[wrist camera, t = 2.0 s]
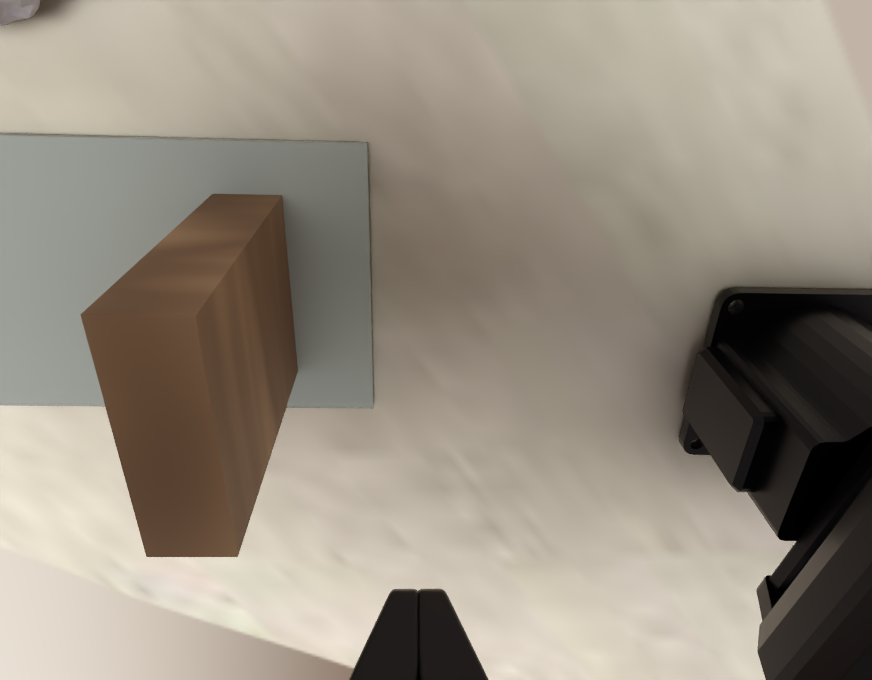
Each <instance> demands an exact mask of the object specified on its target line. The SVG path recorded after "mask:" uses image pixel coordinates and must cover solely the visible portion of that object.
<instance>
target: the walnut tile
mask: <svg viewBox="0 0 872 680" xmlns="http://www.w3.org/2000/svg"><path fill="white" fill-rule="evenodd" d="M80 315H81V319H82V323H83V326H84V330H85V334H86V337H87V341H88V345H89V348H90V352H91V355H92V359H93V363H94V366H95V370H96V374H97V377H98V381H99V385H100V388H101V392H102V396H103V399H104V403H105V407H106V410H107V414H108V418H109V421H110V425H111V428H112V432H113V436H114V439H115V443H116V447H117V450H118V454H119V458H120V461H121V465H122V469H123V472H124V476H125V480H126V483H127V487H128V491H129V494H130V498H131V502H132V505H133V509H134V512H135V516H136V520H137V523H138V527H139V531H140V534H141V538H142V542H143V545H144V549H145V553H146V556H147V557H238V554H239V551H240V548H241V545H242V542H243V538H244V535H245V532H246V529H247V526H248V523H249V520H250V517H251V514H252V511H253V508H254V505H255V502H256V499H257V495H258V492H259V489H260V486H261V483H262V480H263V477H264V474H265V471H266V468H267V465H268V462H269V459H270V456H271V453H272V449H273V446H274V443H275V440H276V437H277V434H278V431H279V428H280V425H281V422H282V419H283V416H284V413H285V410H286V406H287V403H288V400H289V397H290V394H291V391H292V388H293V385H294V382H295V379H296V376H297V373H298V365H297V354H296V343H295V332H294V321H293V310H292V299H291V288H290V277H289V266H288V255H287V244H286V233H285V222H284V211H283V200H282V195H255V194H212V195H211V196H209V197H208V198H207V199H206V200H205V201H204V202H203V203H202V204H201V205H200V206H199V207H197V208H196V209H195V210H194V211H193V212H192V213H191V214H190V215H189V216H188V217H187V218H185V219H184V220H183V221H182V222H181V223H180V224H179V225H178V226H177V227H176V228H174V229H173V230H172V231H171V232H170V233H169V234H168V235H167V236H166V237H165V238H164V239H162V240H161V241H160V242H159V243H158V244H157V245H156V246H155V247H154V248H153V249H152V250H150V251H149V252H148V253H147V254H146V255H145V256H144V257H143V258H142V259H141V260H139V261H138V262H137V263H136V264H135V265H134V266H133V267H132V268H131V269H130V270H129V271H127V272H126V273H125V274H124V275H123V276H122V277H121V278H120V279H119V280H118V281H116V282H115V283H114V284H113V285H112V286H111V287H110V288H109V289H108V290H107V291H106V292H104V293H103V294H102V295H101V296H100V297H99V298H98V299H97V300H96V301H95V302H94V303H92V304H91V305H90V306H89V307H88V308H87V309H86V310H85V311H84V312H83V313H81V314H80Z"/></svg>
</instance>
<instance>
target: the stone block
mask: <svg viewBox="0 0 872 680" xmlns="http://www.w3.org/2000/svg"><path fill="white" fill-rule="evenodd" d="M40 1H41V0H0V25H8V24H10V23H12V22H13V21H15V20H22V19H29V18H31V17H32V16H33V15H34V14H35V12H36V11H37V9H38V8H39V6H40Z"/></svg>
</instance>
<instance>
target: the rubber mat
mask: <svg viewBox="0 0 872 680" xmlns="http://www.w3.org/2000/svg"><path fill="white" fill-rule="evenodd" d="M212 194H255V195H282V200H283V211H284V222H285V233H286V244H287V255H288V266H289V277H290V288H291V299H292V310H293V321H294V332H295V343H296V354H297V365H298V373H297V376H296V379H295V382H294V385H293V388H292V391H291V394H290V397H289V400H288V403H287V406H286V407H287V408H373V404H374V398H373V356H372V313H371V271H370V228H369V186H368V143H367V142H343V141H301V140H260V139H219V138H177V137H136V136H94V135H53V134H12V133H0V405H28V406H105V403H104V399H103V396H102V392H101V388H100V385H99V381H98V377H97V374H96V370H95V366H94V363H93V359H92V355H91V352H90V348H89V345H88V341H87V337H86V334H85V330H84V326H83V323H82V319H81V315H80V314H81V313H83V312H84V311H85V310H86V309H87V308H88V307H89V306H90V305H91V304H92V303H94V302H95V301H96V300H97V299H98V298H99V297H100V296H101V295H102V294H103V293H104V292H106V291H107V290H108V289H109V288H110V287H111V286H112V285H113V284H114V283H115V282H116V281H118V280H119V279H120V278H121V277H122V276H123V275H124V274H125V273H126V272H127V271H129V270H130V269H131V268H132V267H133V266H134V265H135V264H136V263H137V262H138V261H139V260H141V259H142V258H143V257H144V256H145V255H146V254H147V253H148V252H149V251H150V250H152V249H153V248H154V247H155V246H156V245H157V244H158V243H159V242H160V241H161V240H162V239H164V238H165V237H166V236H167V235H168V234H169V233H170V232H171V231H172V230H173V229H174V228H176V227H177V226H178V225H179V224H180V223H181V222H182V221H183V220H184V219H185V218H187V217H188V216H189V215H190V214H191V213H192V212H193V211H194V210H195V209H196V208H197V207H199V206H200V205H201V204H202V203H203V202H204V201H205V200H206V199H207V198H208V197H209V196H211V195H212Z"/></svg>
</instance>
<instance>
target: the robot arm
mask: <svg viewBox="0 0 872 680" xmlns="http://www.w3.org/2000/svg"><path fill="white" fill-rule="evenodd" d="M735 300H739V302H738V304H737V306H735V307H734V308H731V309H729V308H728V307H729V305H730V303H732V302H733V301H735ZM683 414H684V415H685V418H684V422H683V425H682V429H681V433H680V436H679V442H680V443H681V445H682V447H683V448H684V450H685V452H687V453H689V454H693V455H711V456H712V458H713V459H714V461H715V462H716V464H717V465H718V467H719V469H720V470H721V472H722V473H723V475H724V476H725V478H726V479H727V481H728V482H729V484H730V485H731V486H732V487H733V488H734V489H735V490H736V491H737V492H747V493H748V494H749V496H750V497H751V499H752V500H753V502H754V503H755V505H756V506H757V507H758V509H759V510H760V512H761V513H762V515H763V516H764V518H765V519H766V521H767V522H768V524H769V525H770V527H771V528H772V529H773V531H774V532H775V534H776V535H777V537H778V538H779V539H780V540H784V541H796V543H795V544H794V546H793V547H792V548H791V550H790V551H789V552H788V554H787V555H786V556H785V558H784V559H783V560H782V562H781V563H780V565H779V566H778V567H777V569H776V570H775V571H774V573H773V574H772V575H771V576H770V575H769V576H766V577H765V578H764V580H763V581H762V582H761V584H760V585H759V586H758V588H757V595H758V600H759V605H760V610H761V615H762V620H763V621H762V623H761V624H760V628H759V640H758V655H759V658H760V661H761V665H762V668H763V671H764V675H765V678H766V680H872V290H846V289H782V288H730V289H727V290H725V291H723V292H722V293H721V294H720V295H719V296H718V298H717V300H716V303H715V307H714V310H713V314H712V318H711V321H710V325H709V329H708V333H707V336H706V340H705V344H704V347H703V348H702V349H701V350H700V351H699V353H698V354H697V358H696V361H695V365H694V369H693V373H692V377H691V380H690V384H689V388H688V392H687V395H686V399H685V403H684V407H683ZM696 438H699V439H698V440H697V441H695V442H692V443H691V441H692V440H694V439H696ZM349 680H488V678H487V676H486V673H485V671H484V669H483V667H482V665H481V663H480V661H479V659H478V657H477V655H476V653H475V651H474V649H473V647H472V645H471V643H470V641H469V639H468V637H467V634H466V632H465V630H464V628H463V626H462V624H461V622H460V620H459V618H458V616H457V614H456V612H455V610H454V608H453V606H452V604H451V602H450V600H449V598H448V596H447V594H446V592H445V591H444V590H442V589H420V590H419V591H417V590H415V589H394V590H392V591H391V592H390V594H389V596H388V598H387V600H386V602H385V604H384V606H383V608H382V610H381V612H380V615H379V617H378V619H377V621H376V623H375V625H374V627H373V629H372V632H371V634H370V636H369V638H368V640H367V642H366V644H365V646H364V649H363V651H362V653H361V655H360V657H359V659H358V661H357V663H356V665H355V668H354V670H353V672H352V674H351V676H350V678H349Z"/></svg>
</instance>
